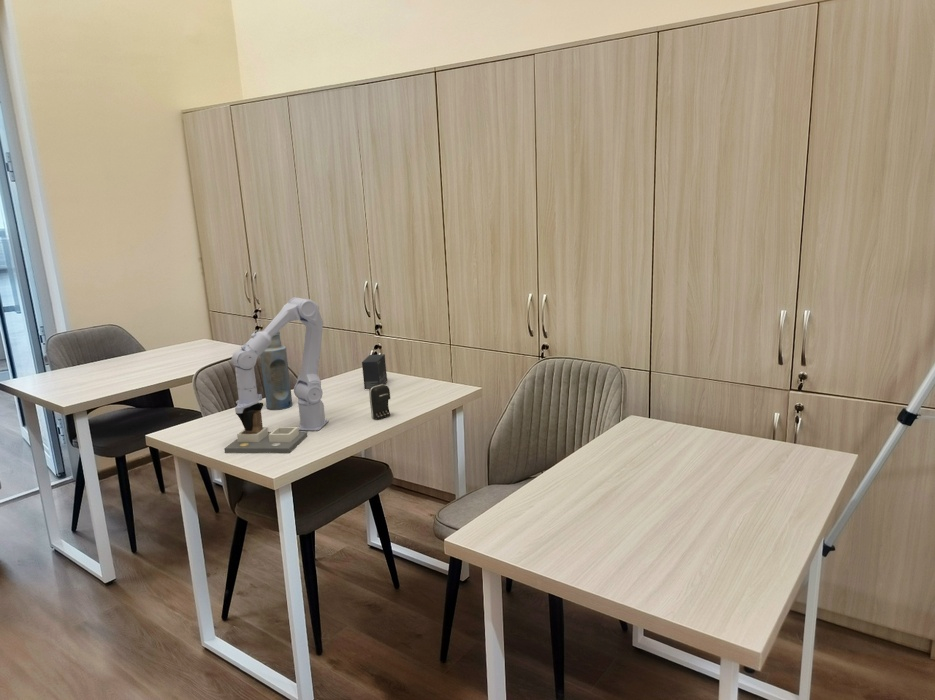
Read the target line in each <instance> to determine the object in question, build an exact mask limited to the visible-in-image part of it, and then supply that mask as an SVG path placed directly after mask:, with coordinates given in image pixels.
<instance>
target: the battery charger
mask: <svg viewBox="0 0 935 700" xmlns="http://www.w3.org/2000/svg"><path fill="white" fill-rule="evenodd" d="M368 392H369V395H368V396H369V403H370V414H371V419H372V420H381V418H382V419H384V417H385V418H388V417H390V416H391V411H390V409H389V400H391V391H390V388H389V386H388V385H386V384H385V385H377V386H374V387H372V388H370V390H368ZM387 416H388V417H387Z"/></svg>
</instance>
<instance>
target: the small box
mask: <svg viewBox="0 0 935 700" xmlns="http://www.w3.org/2000/svg"><path fill="white" fill-rule="evenodd" d="M361 365H362V366H361V367H362V375H363V385H364V390H365V389H370V388H372V387H374V386H377V385H384V384H385V385H386V383H387V382H388V375H387V373H388V372H387V365H386V355H385V354H381V353H380V354H369V355H368V356H367V357H366V358H365V359H364V360H362V362H361ZM386 381H387V382H386ZM385 382H386V383H385Z"/></svg>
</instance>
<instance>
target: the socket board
mask: <svg viewBox="0 0 935 700" xmlns="http://www.w3.org/2000/svg"><path fill="white" fill-rule="evenodd" d="M298 427H299V426H281V427H280V426H278V427H276V428H275V429H274V430H272V431H269V429H268V426H266V427H265V426H263V429H262V430H261V431H260V432H258V433H257V434H245V428H244V429H243V430H242V431H240V432H238V433H237V434H236V439H235V440H234V441H233V442H231V443H230V444H228V445H227V446H225V447H224V449H223V450H224V453H225V454H290V453H291V452H292V451H294V450H295V448H296V447H297V445H298V446H299V445H300V444H301V443H302V442H303V441H304V440H305V439H307V437H308V435H309V434H308V431H300V430H299V429H298Z"/></svg>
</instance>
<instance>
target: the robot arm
mask: <svg viewBox="0 0 935 700" xmlns="http://www.w3.org/2000/svg"><path fill="white" fill-rule="evenodd" d="M297 320H299V321H300V322H301V323H302V324H303V325H304V326H305V335H304V343H303V344H304V345H303V352H302V353H303V354H302V362H301V363H302V364H301V365H302V366H301V372H300V374H299V375H298V376H297V380H296V383H295V385H294V387H293V394H294V396H295V397H296V398H297V400H298V401H297V403H298V405H297V407H298V414H299V422H300V425H299V426H297V427H298V429H299V431H320V430H322V428H323V427H324V426H325V425H326V424H327V423H328V422H329V420H328V419H327V420H326V413H325V405H324V402H323V400H321V399H322V397H323V389H322V381H321V378H320V377H319V367H320V357H321V356H320V355H321V347H322V346H321V345H322V336H323V328H324V321H323V318H322V316H321V313H320V307H319V305H318V304H317V303H316V302H315V301H314V300H312V299H310V298H301V297H298V296H296V297H295V296H294V297H292V298H290V299H289V300H288V302H287V303H285V304H284V305H283V306H282V308H281V309H280V311H279V312H278V313H277V315H275V317H274V318H273V319H272V320H271V322H270V323H269V324H268V325H267V326H266V327H265V328H264V329H263V330H262V331H256V332H252V334H251V335H250V336H251V338H249V340H248V341H246V343H244V344H242V345H240V348H239V349H237V350H235V351H234V352H233V353H232V354H231V355H232V357H231V359H230V362H231V364H232V365H233V366H234V371H235V379H236V387H237V396H238V399H237V400H236V401H235V403H236V404H237V405H236V406H235V407H234V410H235V411H234V412H235V414H236V415H237V417H238V418H239V420H240V421H241V423H242V426H243V428H244V429H245V431H252V429H253V414H254V411H255V410H261V411H262V409H263V407H264V403H263V402H260V401H263V394H262V393H258V388H257V381H256V374H255V373H256V371H255V366H256V364H257V359H258V358H259V357H260V355H261V354H262V353H263V352H264V351H265V350H266V349H267V347H268V346H269V345H270V344H271V338H272V337H273V336H274V335H275V334H276V333H277V332H278V331H279V332H280V331H281V329H283V328H284V327H285V326H286V325H287V324H288V323H289V322H293V321H297Z"/></svg>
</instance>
